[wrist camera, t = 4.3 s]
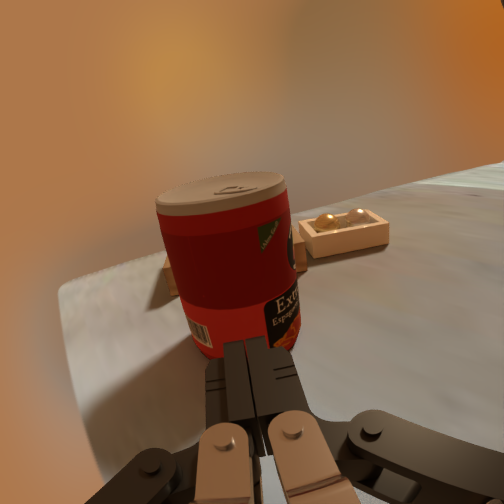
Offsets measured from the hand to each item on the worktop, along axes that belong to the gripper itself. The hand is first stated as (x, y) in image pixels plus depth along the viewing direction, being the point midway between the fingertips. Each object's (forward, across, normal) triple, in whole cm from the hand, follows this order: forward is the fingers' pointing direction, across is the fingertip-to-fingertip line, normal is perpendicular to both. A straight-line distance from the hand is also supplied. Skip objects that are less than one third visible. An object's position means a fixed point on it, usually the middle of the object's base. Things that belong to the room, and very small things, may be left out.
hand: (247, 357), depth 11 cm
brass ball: (+23, -11, +6) cm, 26 cm away
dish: (+23, -12, +6) cm, 27 cm away
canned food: (+10, 0, +7) cm, 12 cm away
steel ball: (+23, -14, +6) cm, 28 cm away
